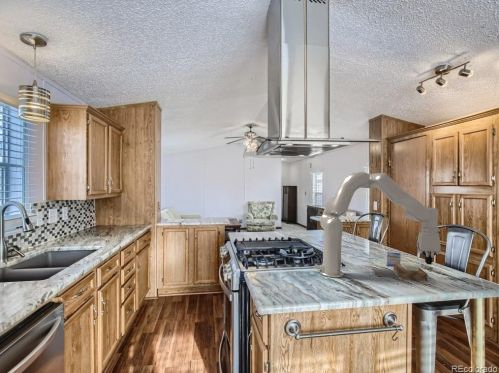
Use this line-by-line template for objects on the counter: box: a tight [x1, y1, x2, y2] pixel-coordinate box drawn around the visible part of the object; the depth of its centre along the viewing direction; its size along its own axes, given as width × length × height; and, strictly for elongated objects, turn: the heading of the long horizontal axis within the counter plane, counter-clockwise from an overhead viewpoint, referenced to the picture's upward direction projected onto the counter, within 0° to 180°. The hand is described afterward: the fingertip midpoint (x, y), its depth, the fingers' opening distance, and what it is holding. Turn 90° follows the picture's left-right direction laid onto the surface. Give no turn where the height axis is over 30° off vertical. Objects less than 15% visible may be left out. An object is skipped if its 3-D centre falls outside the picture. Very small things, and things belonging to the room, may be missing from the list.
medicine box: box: [384, 250, 402, 268], centre depth 170 cm, size 8×4×9 cm, turn 76°
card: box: [400, 260, 420, 271], centre depth 151 cm, size 6×9×2 cm, turn 167°
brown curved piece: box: [392, 263, 429, 282], centre depth 151 cm, size 12×16×4 cm
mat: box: [371, 267, 400, 279], centre depth 154 cm, size 11×14×1 cm
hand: (428, 263), depth 149 cm, fingers closed
